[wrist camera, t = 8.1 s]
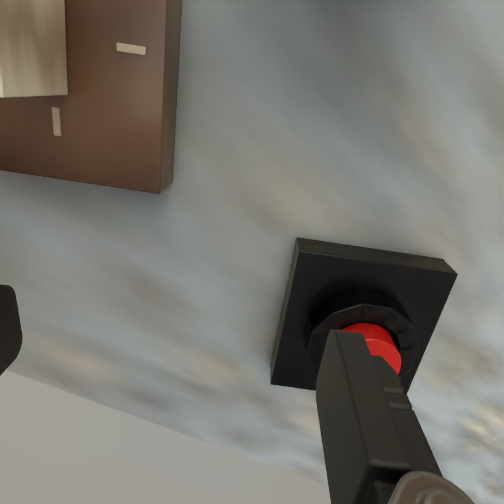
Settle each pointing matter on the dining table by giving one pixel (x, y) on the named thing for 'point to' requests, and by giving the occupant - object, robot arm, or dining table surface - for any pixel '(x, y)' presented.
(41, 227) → the dining table surface
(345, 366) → the robot arm
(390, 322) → the housing
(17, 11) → the cream slab
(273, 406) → the dining table surface
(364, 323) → the button
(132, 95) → the panel
